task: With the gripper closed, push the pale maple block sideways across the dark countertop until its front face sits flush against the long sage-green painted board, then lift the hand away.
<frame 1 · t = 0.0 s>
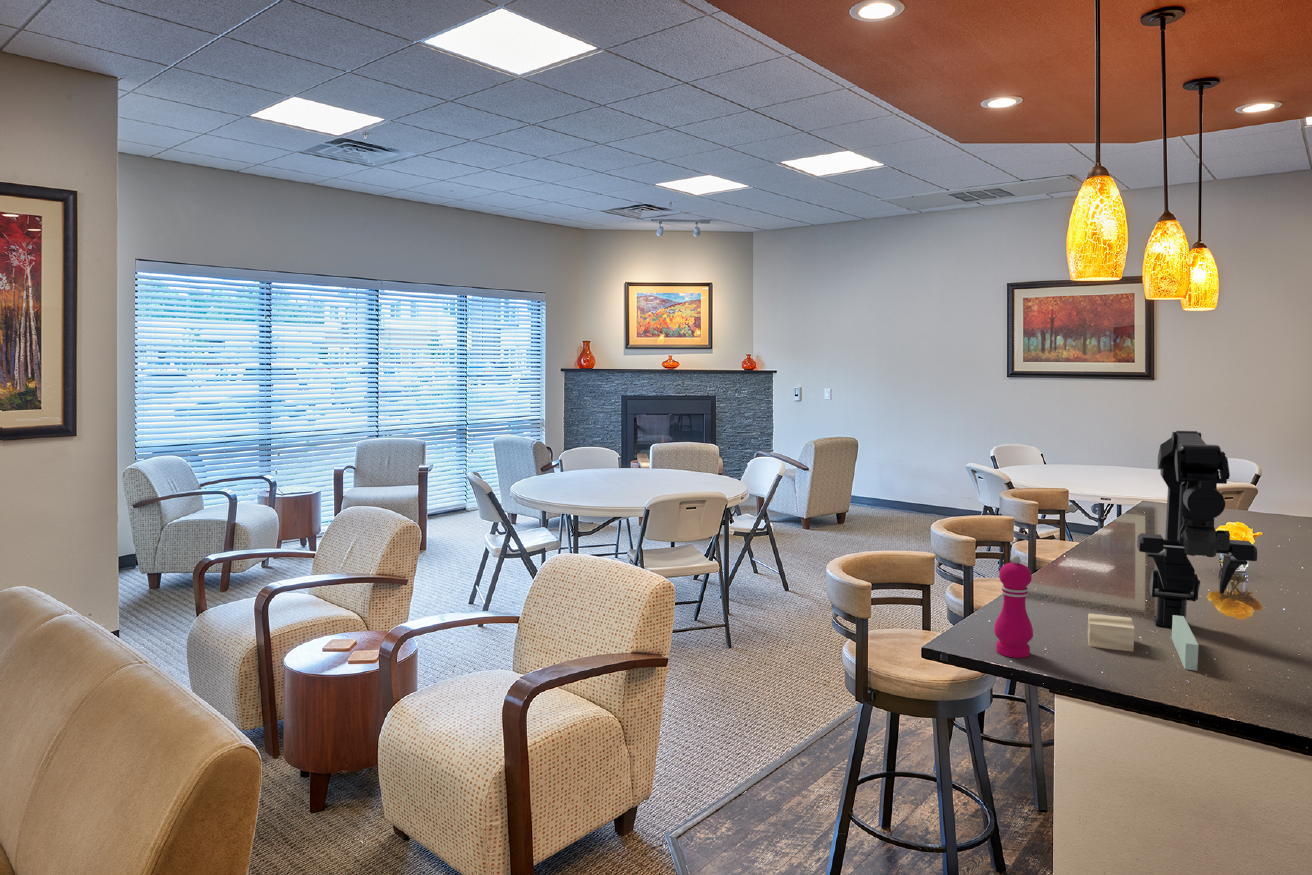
hand: (1192, 590, 158), 15 cm above the worktop, fingers open, 9 cm apart
maple block: (1109, 643, 172), on the worktop
sage board: (1183, 653, 166), on the worktop
pepper mill: (1012, 653, 167), on the worktop
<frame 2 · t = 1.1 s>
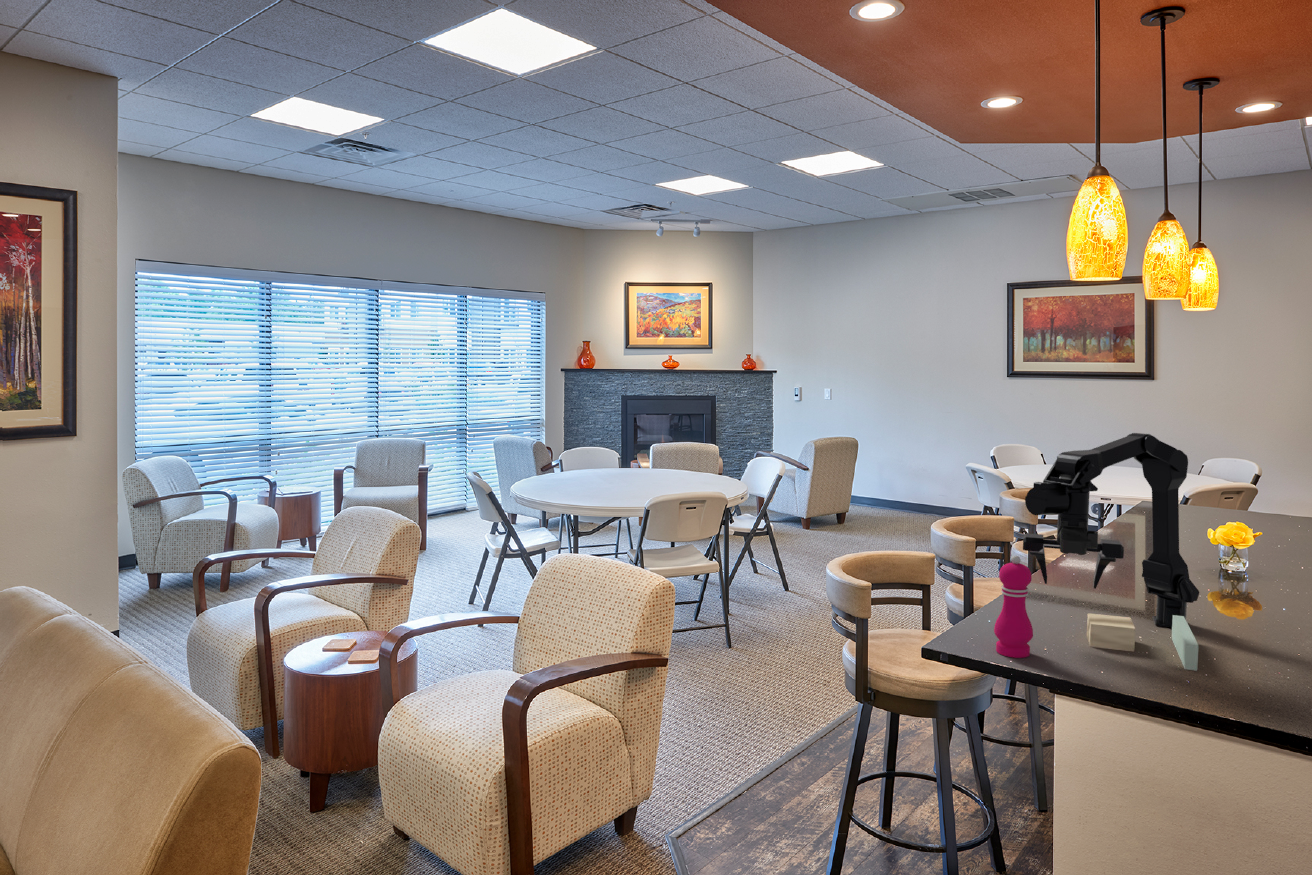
hand: (1069, 585, 174), 12 cm above the worktop, fingers open, 9 cm apart
nothing on the worktop moved.
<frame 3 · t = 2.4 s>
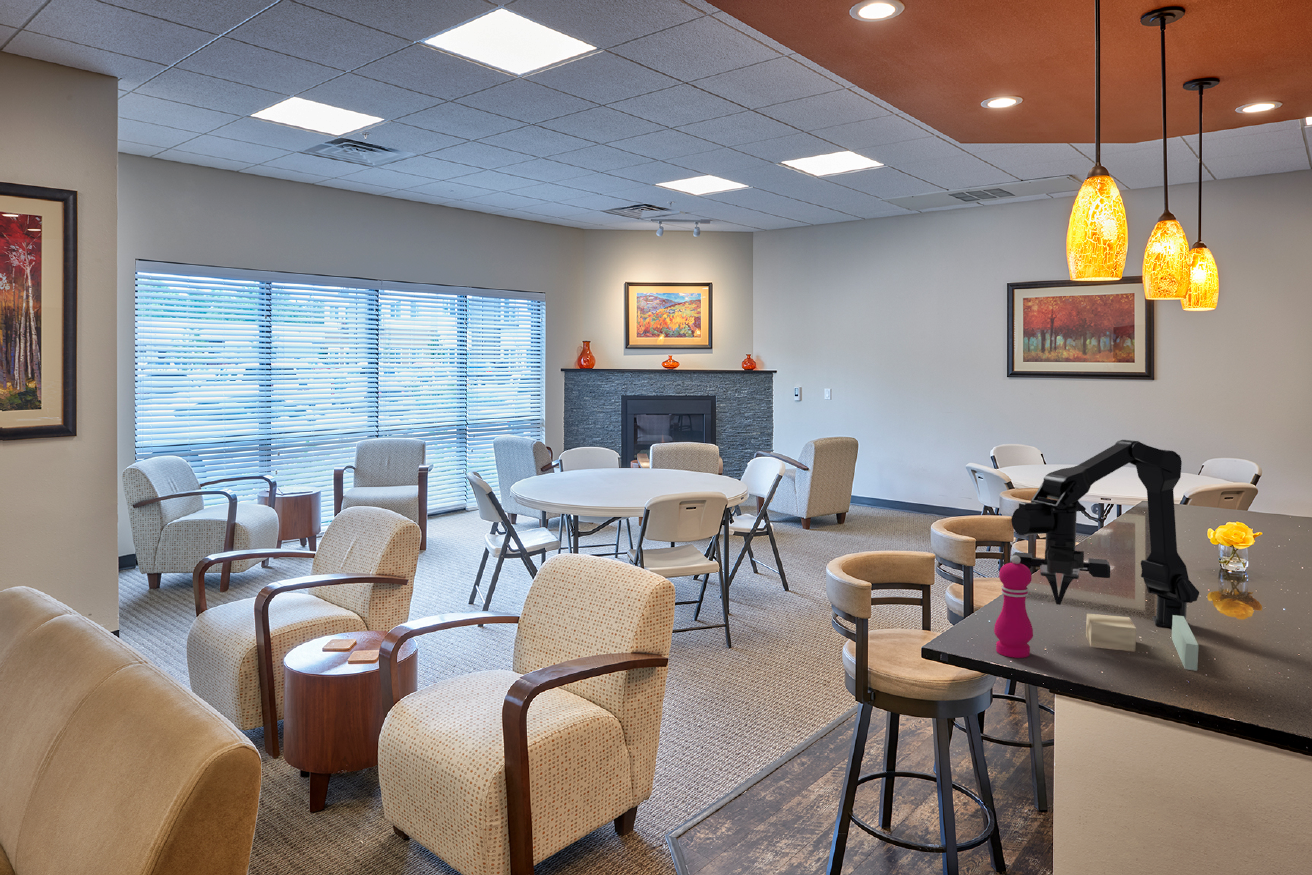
hand: (1058, 604, 176), 7 cm above the worktop, fingers closed
nothing on the worktop moved.
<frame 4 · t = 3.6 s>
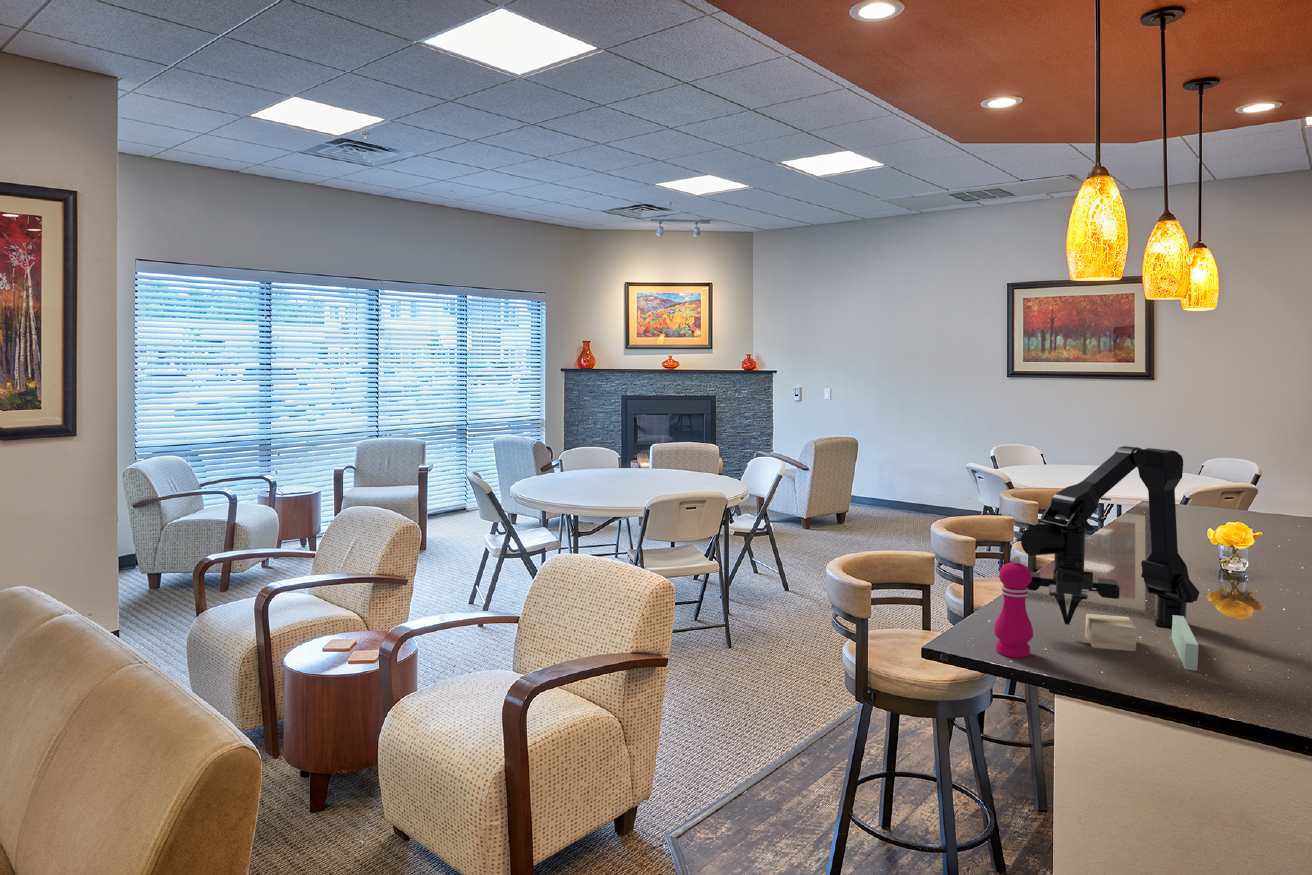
hand: (1067, 624, 176), 3 cm above the worktop, fingers closed
nothing on the worktop moved.
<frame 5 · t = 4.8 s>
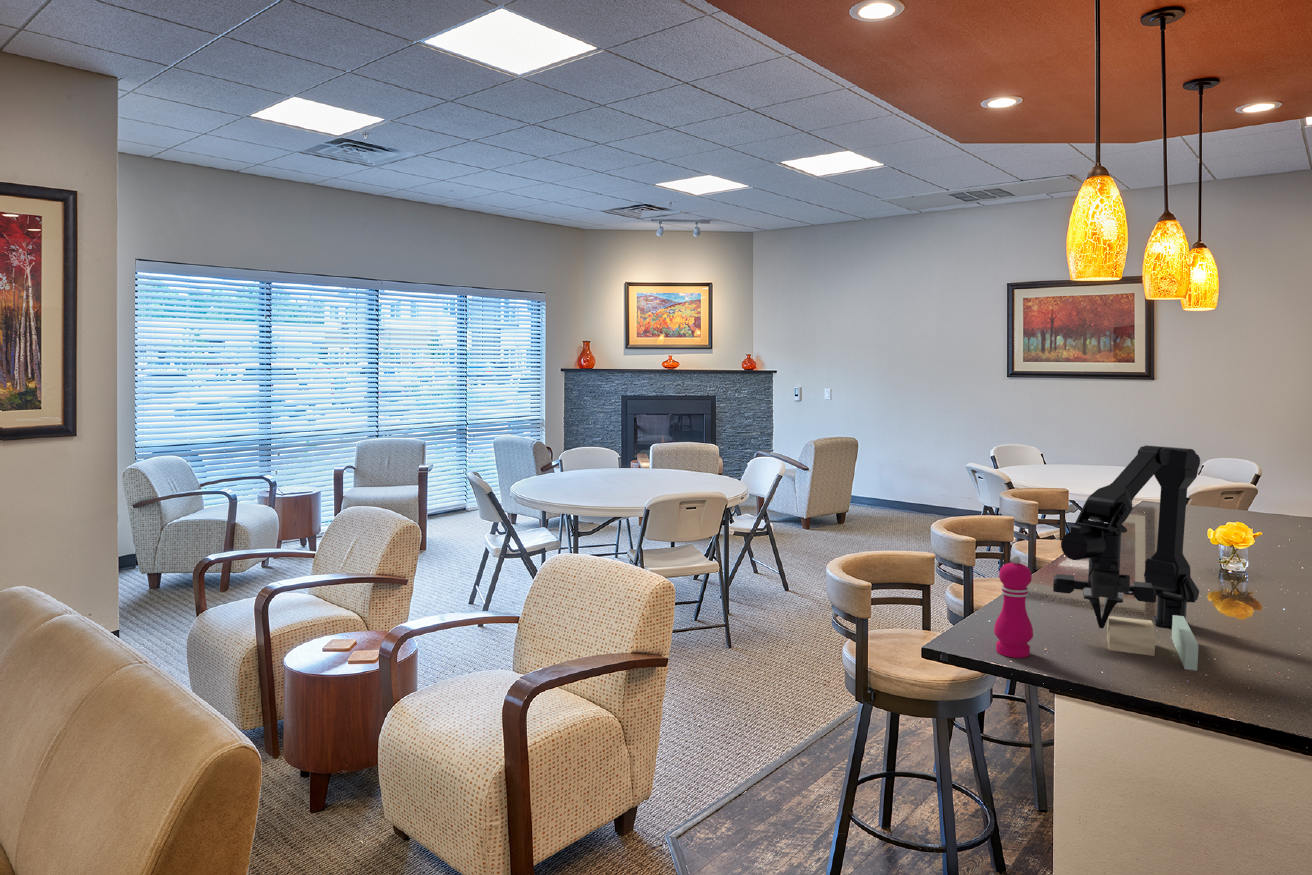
hand: (1101, 627, 173), 3 cm above the worktop, fingers closed
maple block: (1130, 647, 170), on the worktop, touching gripper
everything else where it was.
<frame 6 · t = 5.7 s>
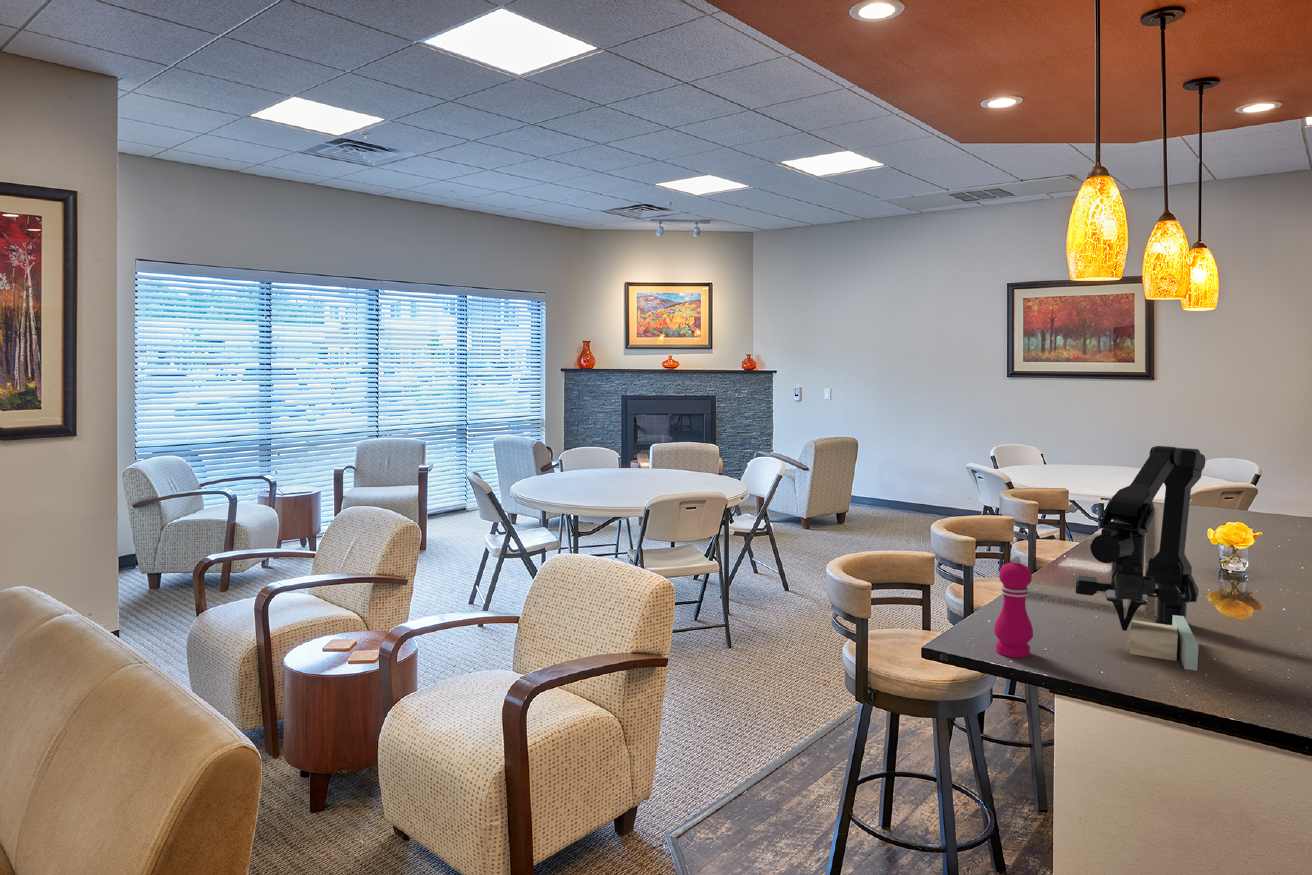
hand: (1124, 630, 171), 3 cm above the worktop, fingers closed
maple block: (1152, 652, 167), on the worktop, touching gripper, sage board
everything else where it was.
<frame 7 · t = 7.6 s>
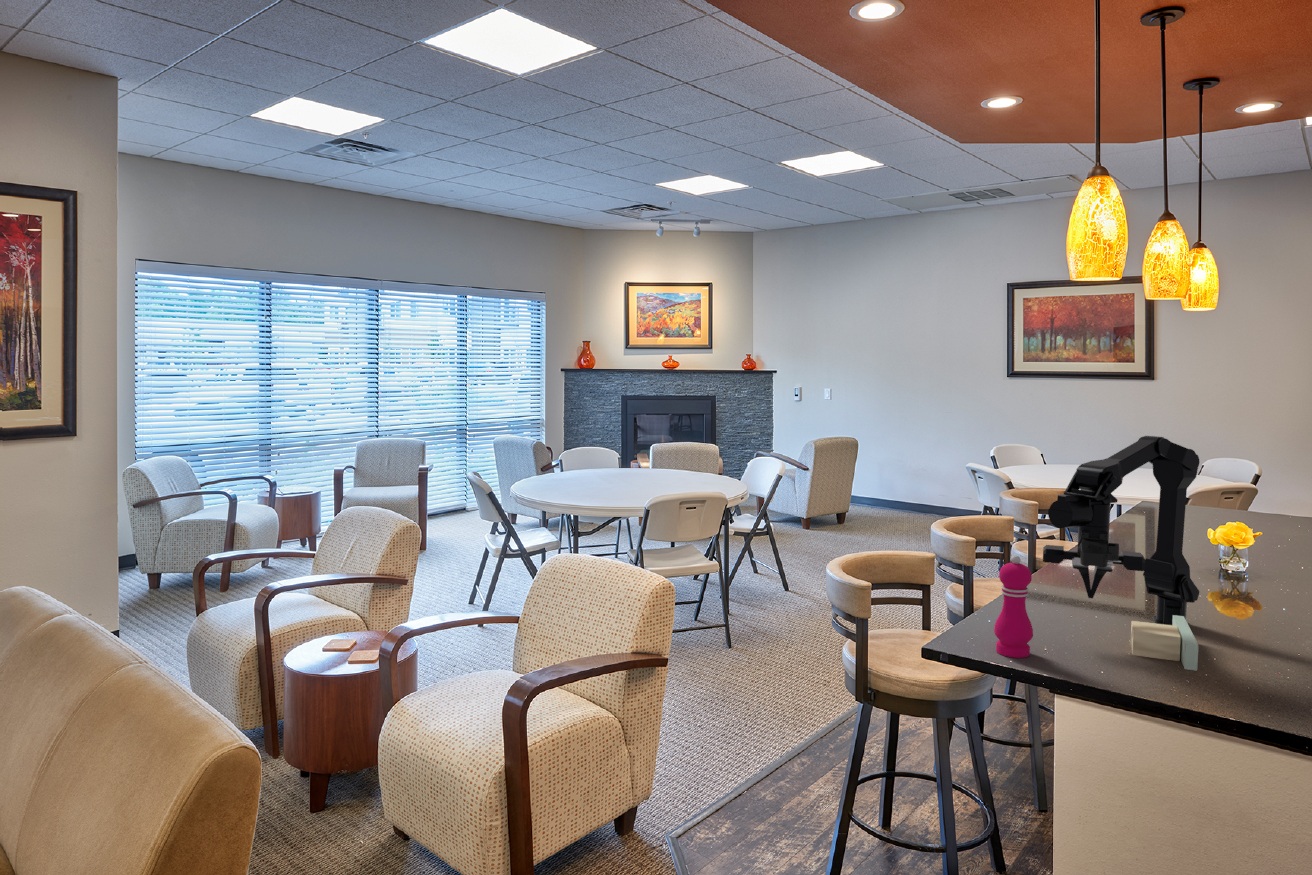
hand: (1090, 597, 173), 9 cm above the worktop, fingers closed
maple block: (1154, 652, 167), on the worktop
everything else where it was.
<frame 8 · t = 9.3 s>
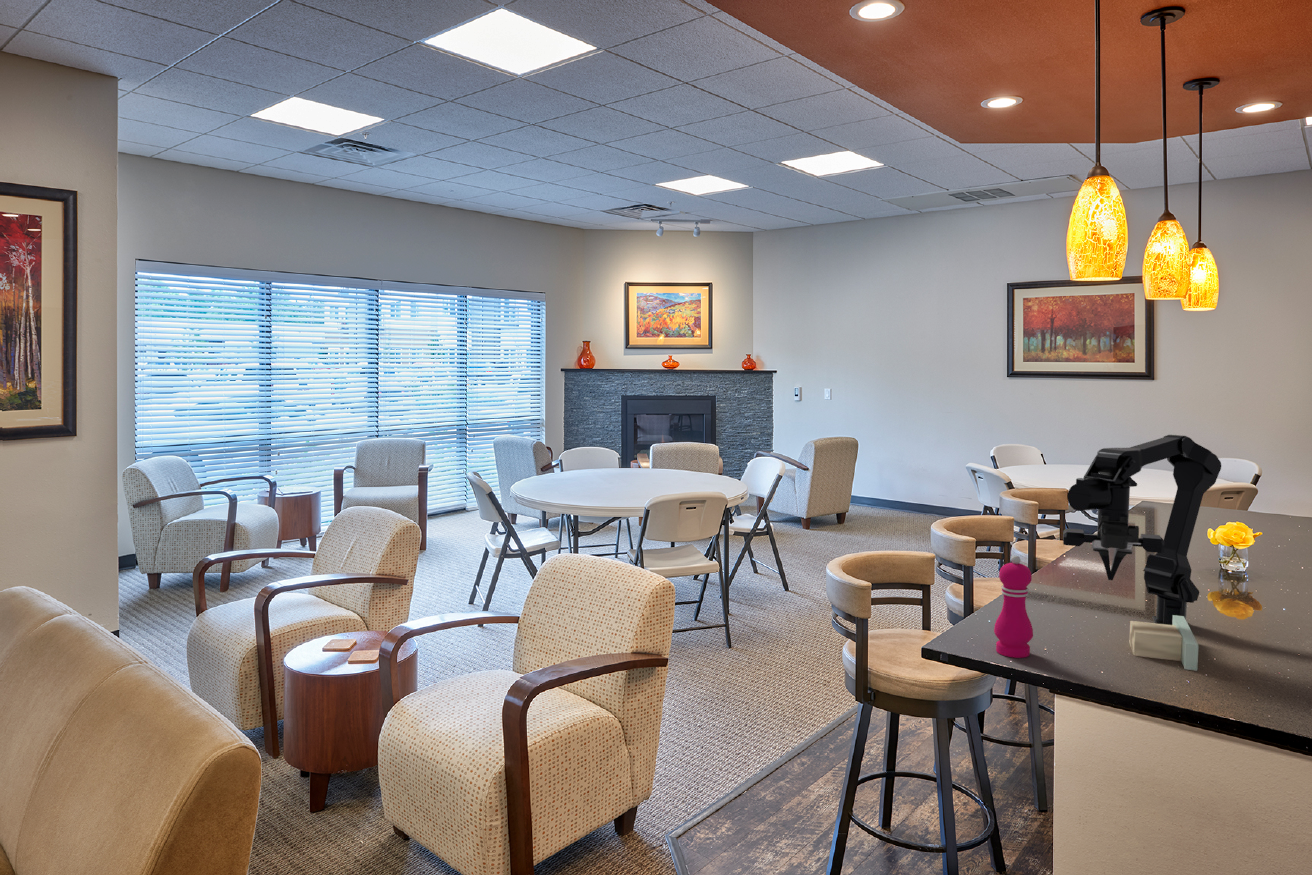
hand: (1110, 579, 177), 12 cm above the worktop, fingers closed
nothing on the worktop moved.
at the end: maple block inside the target area on the worktop beside the sage board (1.4 cm from its centre), on the worktop; maple block tilted 0° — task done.
